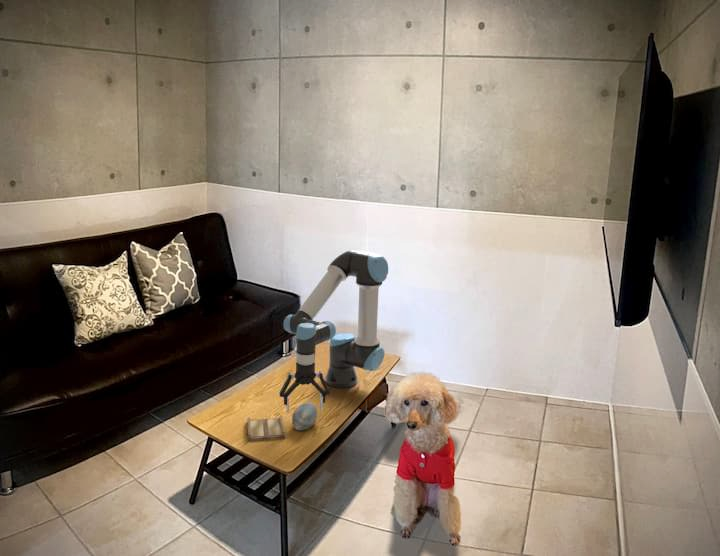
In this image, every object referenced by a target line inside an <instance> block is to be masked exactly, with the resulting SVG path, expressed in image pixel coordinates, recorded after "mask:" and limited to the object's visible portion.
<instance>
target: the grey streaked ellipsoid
mask: <svg viewBox="0 0 720 556" xmlns="http://www.w3.org/2000/svg"><path fill="white" fill-rule="evenodd" d="M291 418H292V419H291V421H292V423H291V424H292V426H293V428H294V429H295V430H297V431H305V430H307V429H309V428H311V427H312V426H313V425H314V424H315V423H316V421H317V418H318V408H317V406H316V405H315V404H314V403H312V402H304V403H302V404H300V405H298V406H297V407H296V408H295V410H293V413H292V417H291Z"/></svg>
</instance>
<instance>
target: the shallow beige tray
mask: <svg viewBox="0 0 720 556" xmlns="http://www.w3.org/2000/svg"><path fill="white" fill-rule="evenodd" d="M246 419H247V421H246V423H247V438H248V442H255V441H267V440H270V441H271V440H281V439H285V438H286V436H285V435H286V433H285V427H284V421H283V415H282V414H281V415H279V417H273V418H271V417H270V418H261V419H260V418H258V419H251V418H250V417H249V416H248V417H246Z"/></svg>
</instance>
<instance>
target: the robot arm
mask: <svg viewBox="0 0 720 556" xmlns="http://www.w3.org/2000/svg"><path fill="white" fill-rule="evenodd" d="M388 274H389V264H388V261H387V259H386V258H385V257H384V256H383V255H380V254H377V253H376V252H369V251H367V252H366V251H363V250H362V251H361V250H357V249H350V250H347V251H345V252H342V253H341V254H340V255H338V256H337V257H336V258H334V259H333V261H332V262H331V263H330V264H329V265H328V266H327V272H326V273H324V275H323V277H322V278H321V280H320V281H319V282H318V284H317V285H316V286H315V287H314V289H313V290H312V291H311V292H310V294H309V295H308V297H307V298H306V300H305V301H304V302H303V303H302V305H301V306H300V307H299V309H298V310H297V312H296V313H295V314H288V315H287V316H285V318H284V320H283V329H284V331H286V332H288V333H289V334H292V335H295V336H296V348H295V349H296V351H295V358H296V359H295V361H296V363H295V373H291V372H288V373H287V377H286V380H285V381H284V383H283V385H282V387H281V389H280V391H279V397H280V398H283V405H284V406H286V408H285V409H286V411H285V412H286V414H289V413H290V395H291V394H292V393H293V392H294V391H295V390H296V388H297V387H298V386H300V385H302V386H303V385H307V386H309V385H310V384H311V385H312V386H313V387H314V388H315V389H316V390H317V391H318V392H319V410H320V412H323V408H324V407H323V406H324V405H323V404H325V403H326V397H327V395H330V394H331V392H330V389H329V387H328V386H330V387H333V388H335V389H347V388H352V387H354V386H356V384H357V382H358V376H357V372H356V368H359V369H362V370H364V371H368V372H375V371H376V370H377V369H379V368H380V366H381V365H382V363H383V361H384V358H385V349H384V348H383V347H381V344H380V343H381V342H380V339H379V338H378V336H377V335H378V313H379V290H380V289H379V288H380V287H381V286H382V285H383V282H385V280H386V279H387V278H388ZM348 277H355V284H356V285H357V286H358V287H359V290H358V317H357V318H358V321H357V336H355V335H354V334H353V333H348V332H347V333H339V334H336V332H337V330H336V326H335V324H334V323H333V322H331V320H330V321H329V320H326V321H321V322H319V321H316V320H315V318H316V317H317V315H318V314H319V313H320V312H321V310H322V309H323V308H324V306H325V305H326V304H327V302H328V301H329V299H330V298H331V297H332V295H333V294H334V293H335V291H336V290H337V288H338V286H340V284H341V283H342V282H345V281H346V279H347V278H348ZM326 341H327V342H328V341H329V345H328V346H329V366H328V369H327V372H326V374H325V377H324V375H323V373H322V371H318V372H316V371H315V370H316V362H315V361H316V346H318V345H319V344H321V343H325V342H326ZM355 367H356V368H355ZM316 377H317V379H319V380H320V382H321V384H322V386H323V388H324V389H323V388H322V387H321V386H320V384H319V383H317V382H316V380H315V379H316ZM294 378H295V380H294V381H293V383H292V384H291V385H290V383H291V381H292V380H293V379H294ZM324 378H325V379H324Z"/></svg>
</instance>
